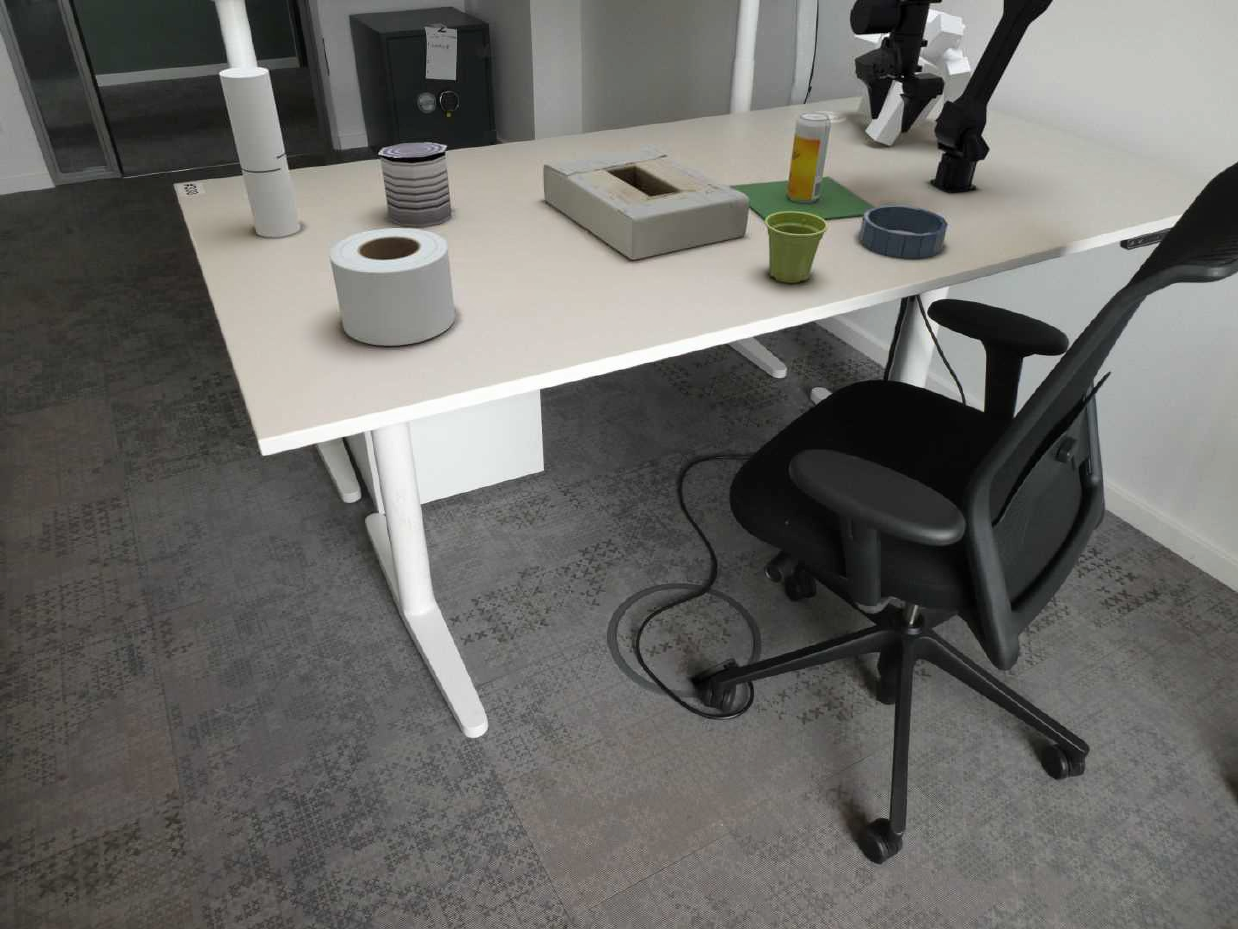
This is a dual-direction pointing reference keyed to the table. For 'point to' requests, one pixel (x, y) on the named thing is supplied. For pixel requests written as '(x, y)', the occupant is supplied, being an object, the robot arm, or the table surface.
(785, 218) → the plant pot
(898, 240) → the blue round tray
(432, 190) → the can
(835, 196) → the green cloth
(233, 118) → the cylindrical container
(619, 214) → the box
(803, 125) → the beer can
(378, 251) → the tape roll
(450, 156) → the table surface
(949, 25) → the pile of blocks
